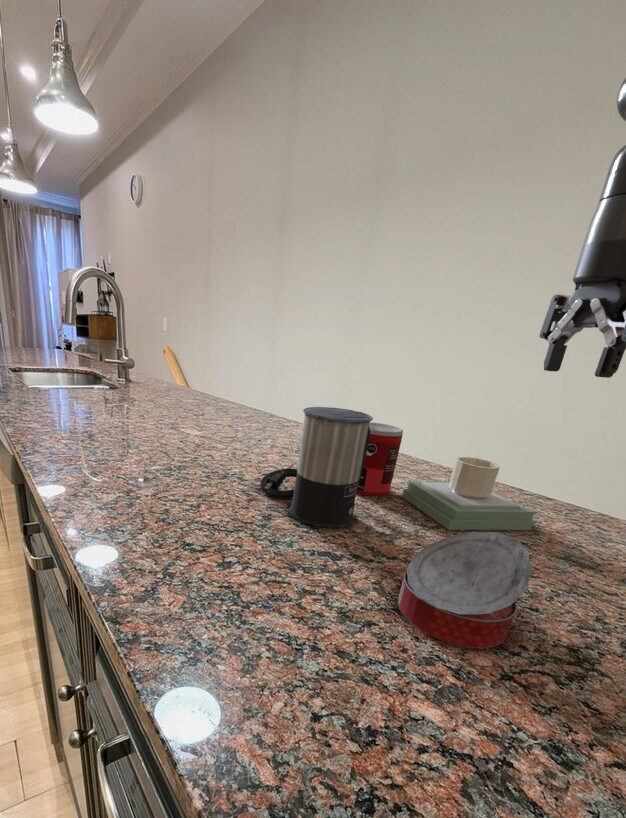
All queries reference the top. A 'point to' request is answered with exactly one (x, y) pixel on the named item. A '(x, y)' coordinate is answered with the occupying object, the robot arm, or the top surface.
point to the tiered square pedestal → (465, 502)
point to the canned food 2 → (466, 588)
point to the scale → (466, 512)
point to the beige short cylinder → (473, 477)
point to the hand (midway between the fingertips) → (575, 373)
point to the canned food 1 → (380, 460)
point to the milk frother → (325, 467)
